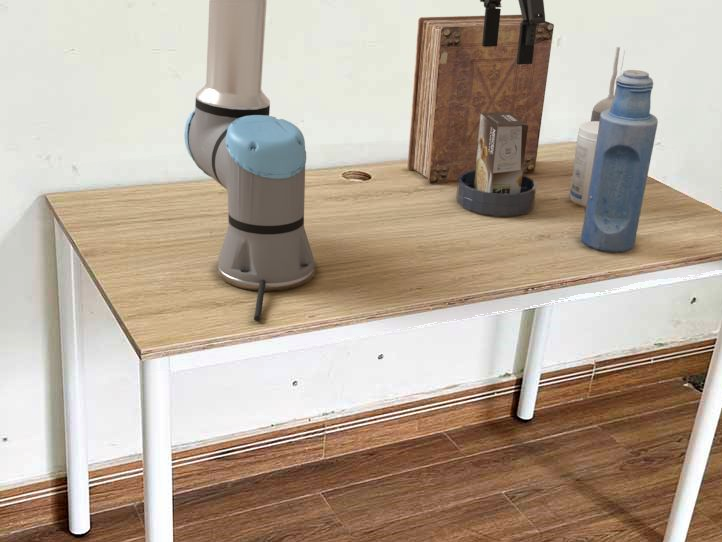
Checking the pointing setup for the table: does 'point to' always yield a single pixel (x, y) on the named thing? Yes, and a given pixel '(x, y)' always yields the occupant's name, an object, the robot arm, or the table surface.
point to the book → (471, 91)
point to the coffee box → (500, 153)
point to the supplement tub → (583, 162)
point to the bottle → (620, 166)
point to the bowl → (495, 197)
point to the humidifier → (607, 102)
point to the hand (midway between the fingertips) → (506, 54)
